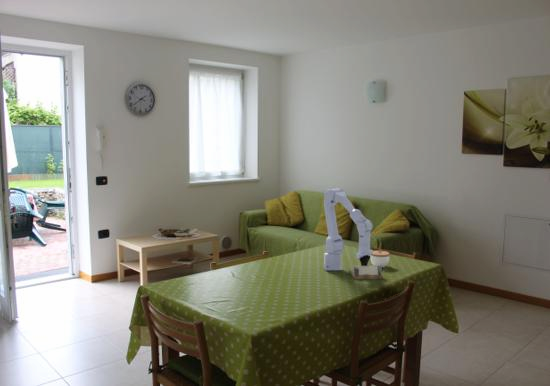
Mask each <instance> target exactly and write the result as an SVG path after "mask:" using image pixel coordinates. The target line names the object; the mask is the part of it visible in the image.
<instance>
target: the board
mask: <svg viewBox="0 0 550 386" xmlns="http://www.w3.org/2000/svg"><path fill="white" fill-rule="evenodd" d="M348 272H349V274H350V275H351V277H352V278H353V280H384V276H383V275H382V273H381V274H378V269H377V274H359V269H358V268H355V274H353V272H354V268H348Z"/></svg>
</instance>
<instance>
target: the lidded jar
mask: <svg viewBox="0 0 550 386" xmlns="http://www.w3.org/2000/svg"><path fill="white" fill-rule="evenodd" d="M369 256H370V259H369V260H370V262H371V264H372V266H377V268H378V265H382V267H383V268H386V266H387V265H388V264H389V261H390V252H388V251H384V250H381V249H378V250H373V253H372V254H371V255H369Z"/></svg>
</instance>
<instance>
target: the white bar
mask: <svg viewBox="0 0 550 386" xmlns="http://www.w3.org/2000/svg"><path fill="white" fill-rule="evenodd" d="M355 268H358V269H359V274H377V270H378V274H381V275H382V270H383V269H382V265H378V267H377V266H374V265H367V266H361V265H353V269H354V272H353V274H355Z"/></svg>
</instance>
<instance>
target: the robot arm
mask: <svg viewBox="0 0 550 386" xmlns="http://www.w3.org/2000/svg"><path fill="white" fill-rule="evenodd" d="M337 203H340V204H341V205H342V206H343V207H344V208H345V209H346V210H347V212H348V213H349V218H351V220H352V221H353V222H354V224H355V225H356V228H357V229H356V230H357V231H358V251H357V253H356V254H355V259H359V261H360V266H368V263H369V261H370V260H371V259H370V255H371V254H372V253H373V251H374V250H373V249H371V231H372V230H373V228H374V225H373V224H374V223H373V222H372V220H369V219H367V218H366V217H365V216H364V215H363V213H362V211H361V210H360V209H357V208H355V207H354V205H353V204H352V202H351V201H350V200H349V198H348V197H347V195H346V192H345V191H344V190H343V188H341V187H337V188H328V189H326V190H325V192H324V193H323V208H324V215H325V222H326V229H327V235H328V236H327V237H326V239H325V251H326V252H324V254H323V269H324V271H343V267H342V253H343V250H344V249H345V243H344V242H345V241H343V238H342V236H341V235H340V234H339V229H338V228H339V227H338V224H337V223H338V222H337V216H336V210H335V206H336V204H337Z"/></svg>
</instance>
